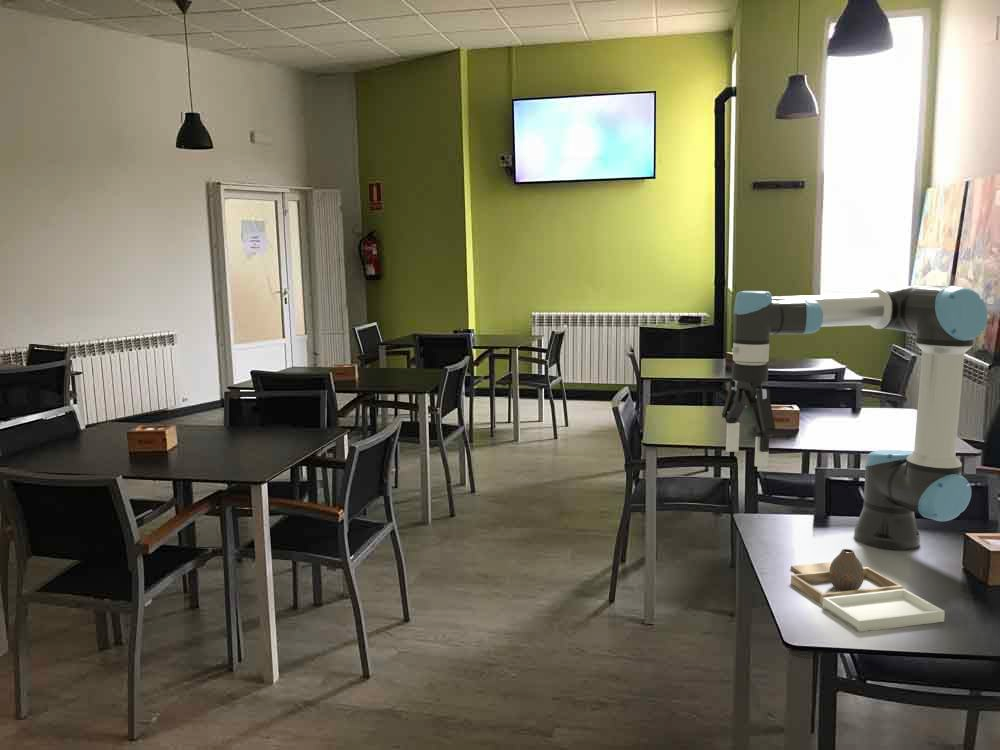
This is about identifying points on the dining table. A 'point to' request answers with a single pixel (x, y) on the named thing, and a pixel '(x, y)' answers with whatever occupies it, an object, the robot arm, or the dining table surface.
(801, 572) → the lid
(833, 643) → the dining table surface
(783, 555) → the dining table surface
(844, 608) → the off-white tray
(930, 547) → the dining table surface
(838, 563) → the vase
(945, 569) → the dining table surface
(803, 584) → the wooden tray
